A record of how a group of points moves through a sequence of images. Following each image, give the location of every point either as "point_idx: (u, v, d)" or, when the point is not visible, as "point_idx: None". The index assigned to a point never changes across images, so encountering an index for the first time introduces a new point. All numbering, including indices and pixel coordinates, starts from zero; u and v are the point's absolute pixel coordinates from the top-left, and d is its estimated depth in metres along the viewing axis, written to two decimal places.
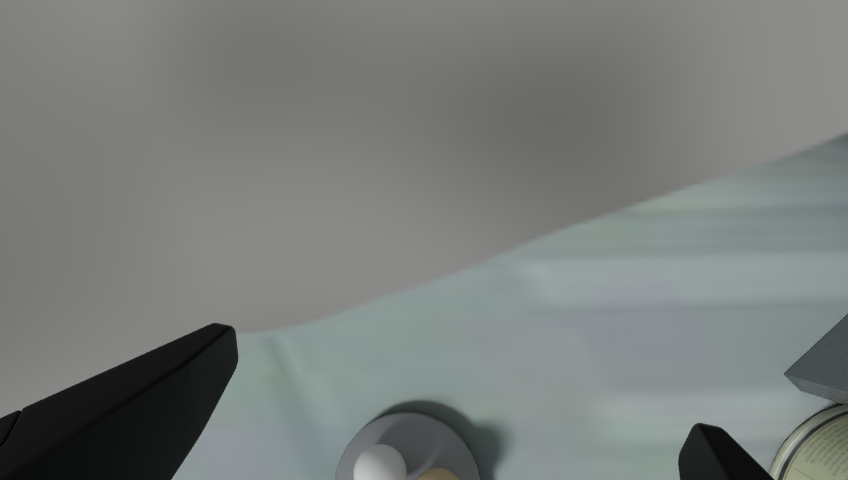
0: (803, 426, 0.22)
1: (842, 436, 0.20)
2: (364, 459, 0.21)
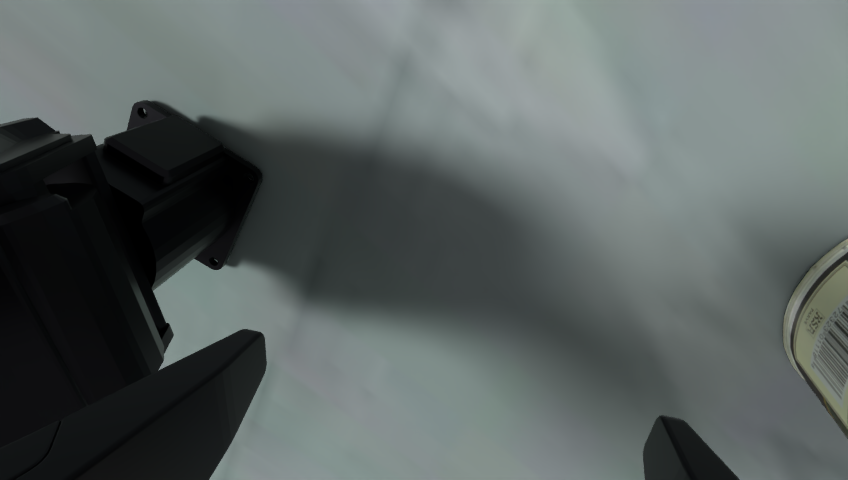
0: None
1: None
2: None
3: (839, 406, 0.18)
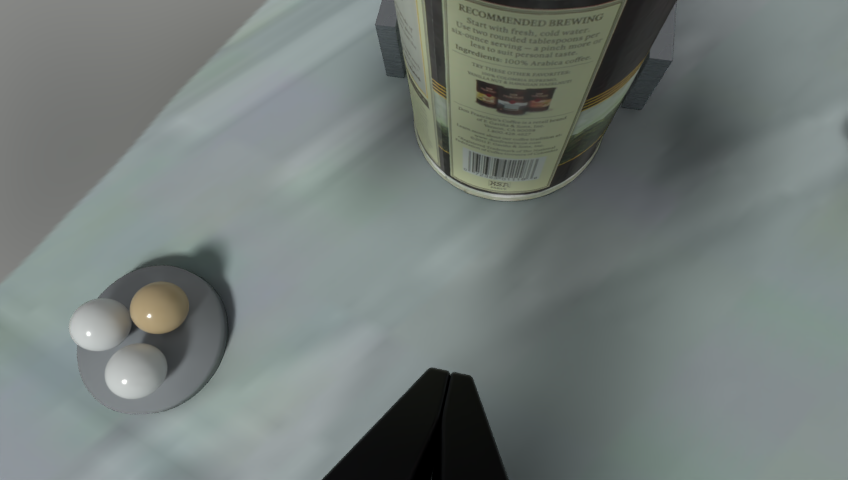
0: None
1: None
2: (72, 315, 0.22)
3: (546, 157, 0.21)
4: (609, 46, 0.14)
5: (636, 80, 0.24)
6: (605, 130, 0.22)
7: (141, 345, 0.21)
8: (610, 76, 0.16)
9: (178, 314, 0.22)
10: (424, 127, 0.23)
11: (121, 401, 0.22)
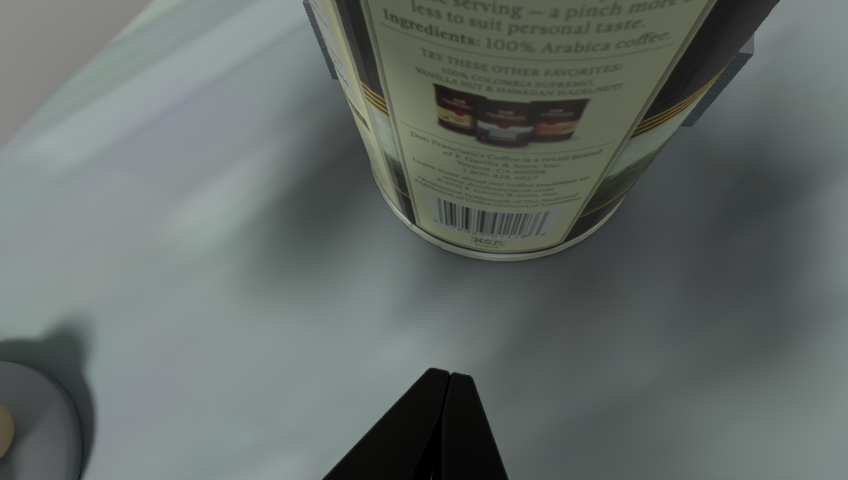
0: None
1: None
2: None
3: (562, 209, 0.13)
4: (713, 9, 0.07)
5: None
6: None
7: None
8: (694, 76, 0.08)
9: None
10: (372, 157, 0.15)
11: None
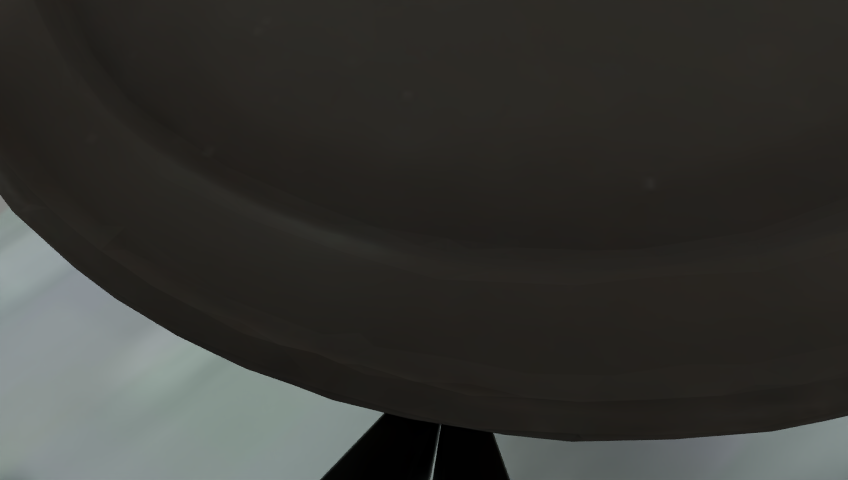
0: None
1: None
2: None
3: None
4: None
5: None
6: None
7: None
8: None
9: None
10: None
11: None
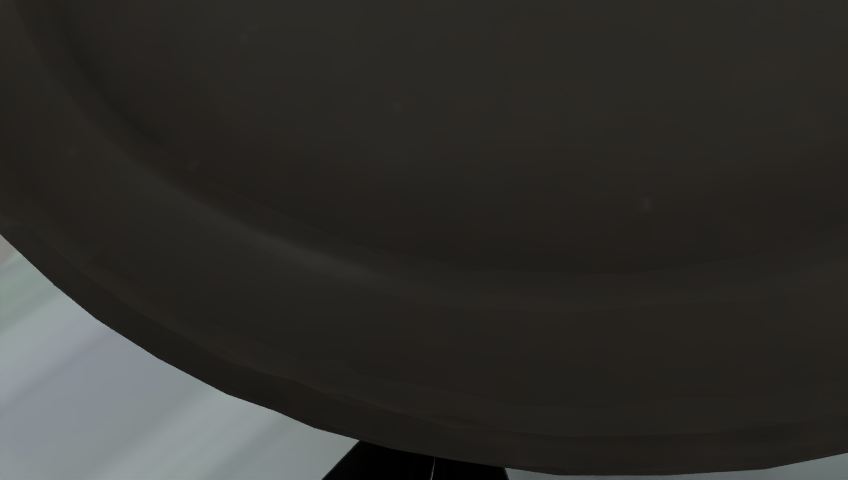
0: None
1: None
2: None
3: None
4: None
5: None
6: None
7: None
8: None
9: None
10: None
11: None
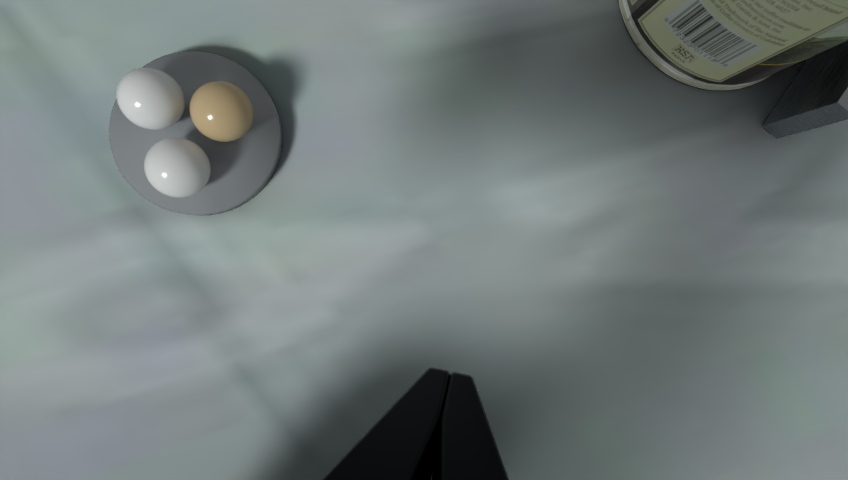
0: None
1: None
2: None
3: (764, 48, 0.19)
4: None
5: (801, 112, 0.22)
6: None
7: (192, 145, 0.19)
8: None
9: (241, 129, 0.20)
10: None
11: (148, 187, 0.21)
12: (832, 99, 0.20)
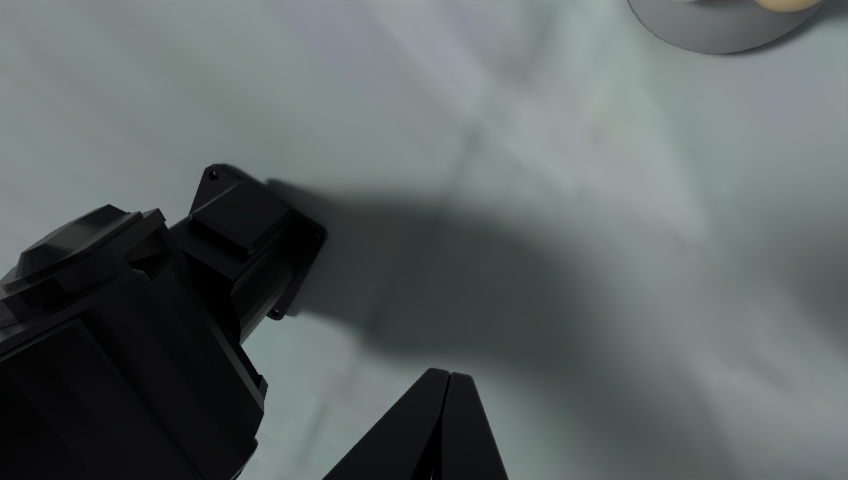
0: None
1: None
2: None
3: None
4: None
5: None
6: None
7: None
8: None
9: (779, 9, 0.15)
10: None
11: None
12: None
